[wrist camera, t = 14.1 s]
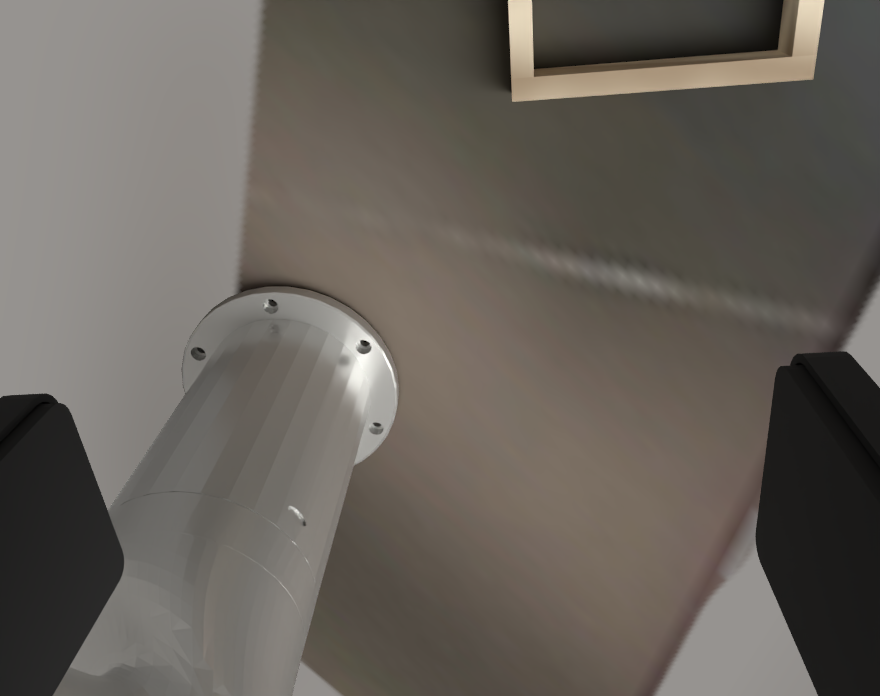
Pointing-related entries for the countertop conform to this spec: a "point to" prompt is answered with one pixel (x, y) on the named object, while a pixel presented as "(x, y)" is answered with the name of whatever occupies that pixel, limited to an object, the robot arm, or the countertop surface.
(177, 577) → the robot arm
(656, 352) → the countertop surface
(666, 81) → the light wooden square frame
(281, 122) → the countertop surface
